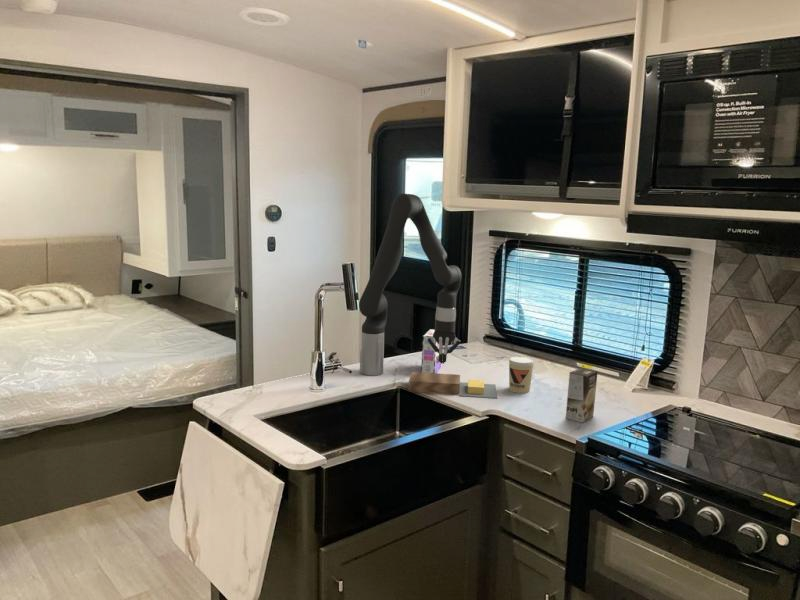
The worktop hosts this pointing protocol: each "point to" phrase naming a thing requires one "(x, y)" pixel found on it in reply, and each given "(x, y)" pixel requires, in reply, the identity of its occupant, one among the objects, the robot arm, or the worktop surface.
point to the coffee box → (581, 394)
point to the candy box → (429, 355)
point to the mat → (488, 393)
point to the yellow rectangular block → (476, 386)
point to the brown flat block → (434, 383)
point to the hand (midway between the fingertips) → (442, 362)
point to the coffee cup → (520, 374)
